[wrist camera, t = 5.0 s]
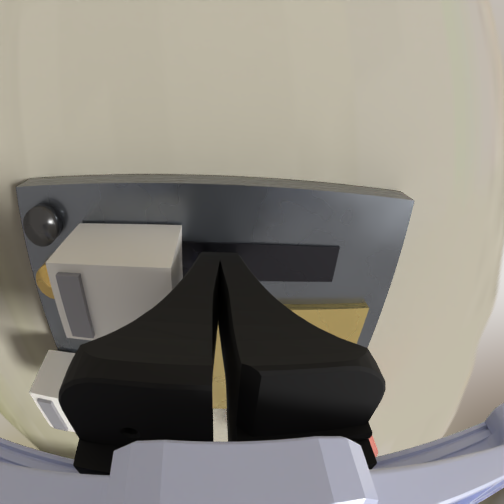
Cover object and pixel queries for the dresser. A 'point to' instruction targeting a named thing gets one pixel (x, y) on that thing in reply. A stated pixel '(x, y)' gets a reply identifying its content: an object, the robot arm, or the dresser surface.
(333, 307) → the panel
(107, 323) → the block
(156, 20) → the dresser surface
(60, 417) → the block
